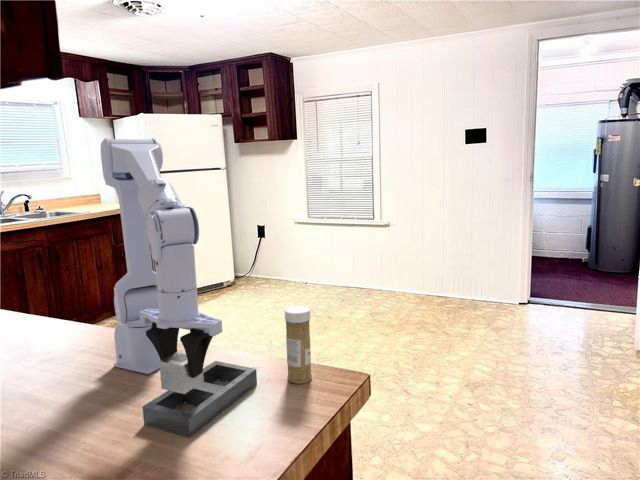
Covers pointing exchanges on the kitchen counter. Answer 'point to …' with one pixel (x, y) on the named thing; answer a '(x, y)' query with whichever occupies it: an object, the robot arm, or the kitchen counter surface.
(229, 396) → the grey rectangular tray
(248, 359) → the kitchen counter surface
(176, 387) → the gray block
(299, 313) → the sprinkles bottle
